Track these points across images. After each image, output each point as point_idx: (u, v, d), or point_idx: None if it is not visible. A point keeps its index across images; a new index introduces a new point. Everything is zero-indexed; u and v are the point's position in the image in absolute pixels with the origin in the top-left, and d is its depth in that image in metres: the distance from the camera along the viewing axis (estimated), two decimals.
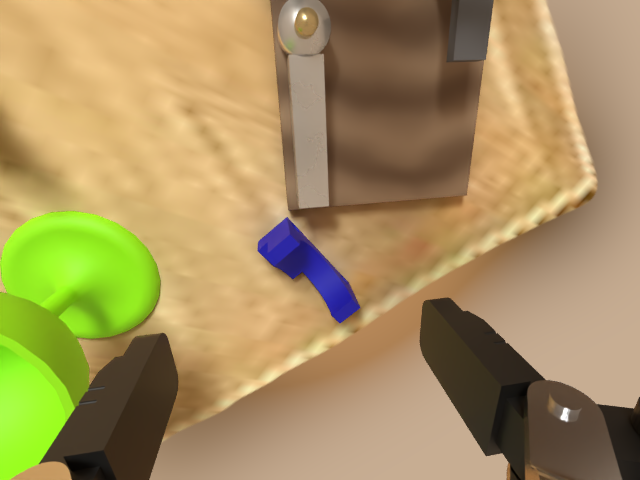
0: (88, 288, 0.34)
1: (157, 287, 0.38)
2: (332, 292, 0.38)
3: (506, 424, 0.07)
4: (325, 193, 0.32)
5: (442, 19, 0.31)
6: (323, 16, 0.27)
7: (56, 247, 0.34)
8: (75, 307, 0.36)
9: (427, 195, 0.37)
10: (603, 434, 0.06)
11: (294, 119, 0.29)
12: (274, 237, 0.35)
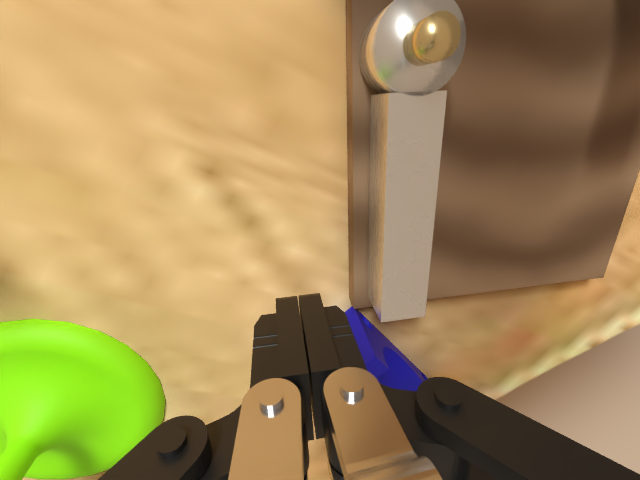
0: (58, 431, 0.23)
1: (160, 411, 0.26)
2: None
3: (321, 408, 0.08)
4: (422, 299, 0.21)
5: (618, 26, 0.19)
6: None
7: (9, 373, 0.22)
8: None
9: (550, 280, 0.26)
10: (368, 413, 0.06)
11: (387, 196, 0.18)
12: None
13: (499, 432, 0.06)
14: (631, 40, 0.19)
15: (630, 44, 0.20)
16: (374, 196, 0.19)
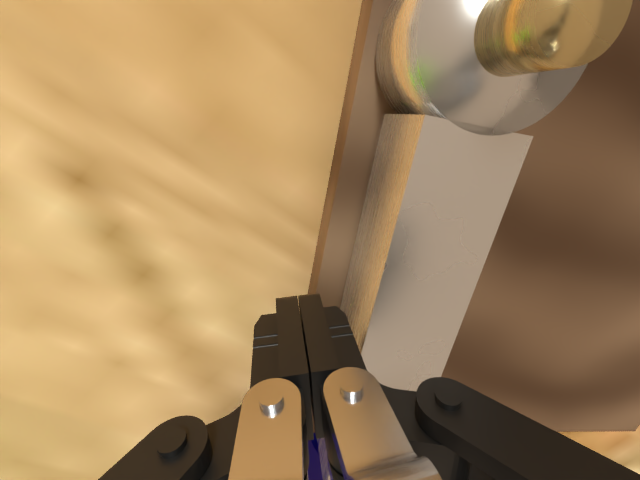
0: None
1: None
2: None
3: (321, 408, 0.08)
4: None
5: None
6: None
7: None
8: None
9: (570, 426, 0.18)
10: (367, 413, 0.06)
11: (378, 302, 0.09)
12: None
13: (499, 432, 0.06)
14: None
15: None
16: (355, 284, 0.11)
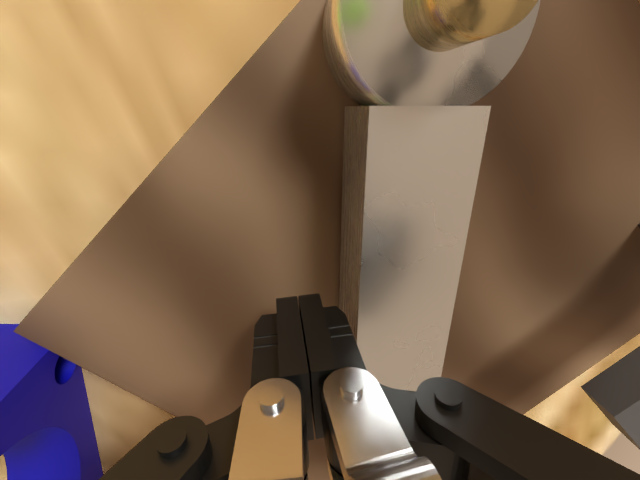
0: None
1: None
2: None
3: (321, 408, 0.08)
4: None
5: (598, 278, 0.14)
6: None
7: None
8: None
9: None
10: (367, 414, 0.06)
11: (363, 297, 0.09)
12: None
13: (498, 432, 0.06)
14: (593, 303, 0.15)
15: (589, 307, 0.15)
16: (345, 280, 0.11)
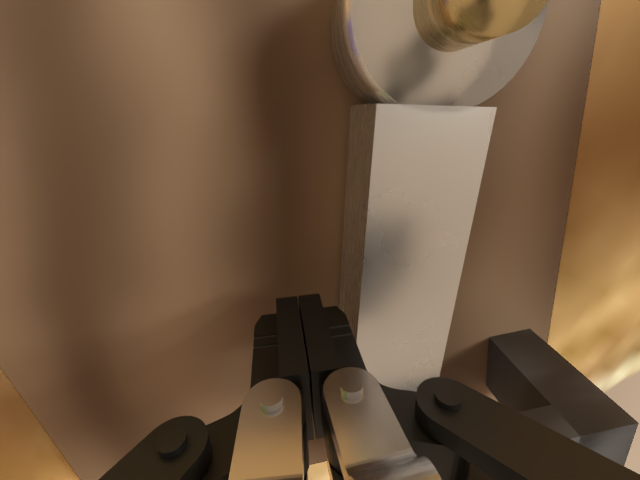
0: None
1: None
2: None
3: (321, 408, 0.08)
4: None
5: None
6: None
7: None
8: None
9: (65, 445, 0.14)
10: (367, 413, 0.06)
11: (364, 294, 0.09)
12: None
13: (499, 432, 0.06)
14: None
15: None
16: (346, 278, 0.11)
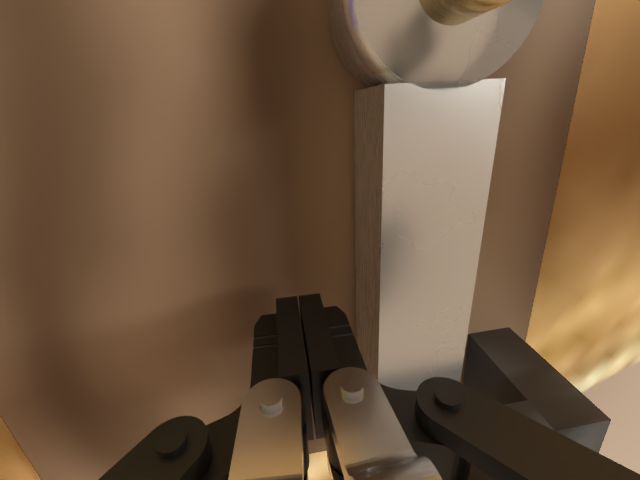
0: None
1: None
2: None
3: (321, 408, 0.08)
4: None
5: None
6: None
7: None
8: None
9: (19, 429, 0.13)
10: (368, 414, 0.06)
11: (384, 280, 0.09)
12: None
13: (499, 432, 0.06)
14: None
15: None
16: (362, 266, 0.11)
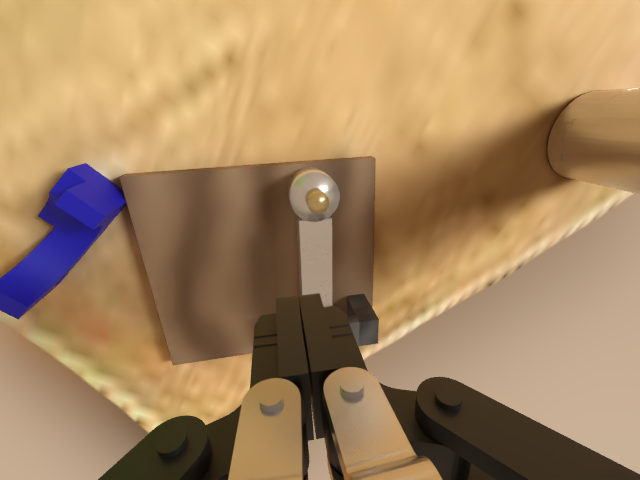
0: None
1: None
2: (32, 274, 0.28)
3: (321, 408, 0.08)
4: None
5: None
6: (333, 189, 0.28)
7: None
8: None
9: (166, 328, 0.34)
10: (368, 413, 0.06)
11: (302, 272, 0.31)
12: (96, 190, 0.26)
13: (499, 432, 0.06)
14: None
15: None
16: (299, 267, 0.32)
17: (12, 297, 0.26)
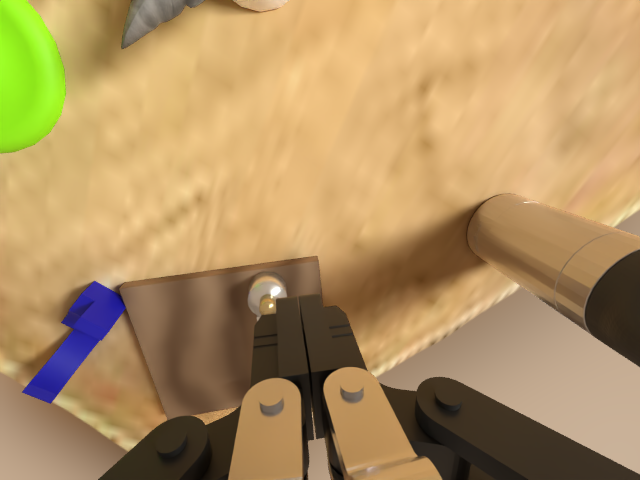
0: None
1: None
2: (59, 367, 0.37)
3: (321, 408, 0.08)
4: None
5: None
6: (281, 293, 0.36)
7: (3, 42, 0.27)
8: None
9: (160, 393, 0.43)
10: (368, 413, 0.06)
11: None
12: (102, 307, 0.35)
13: (499, 432, 0.06)
14: None
15: None
16: None
17: (45, 389, 0.35)
